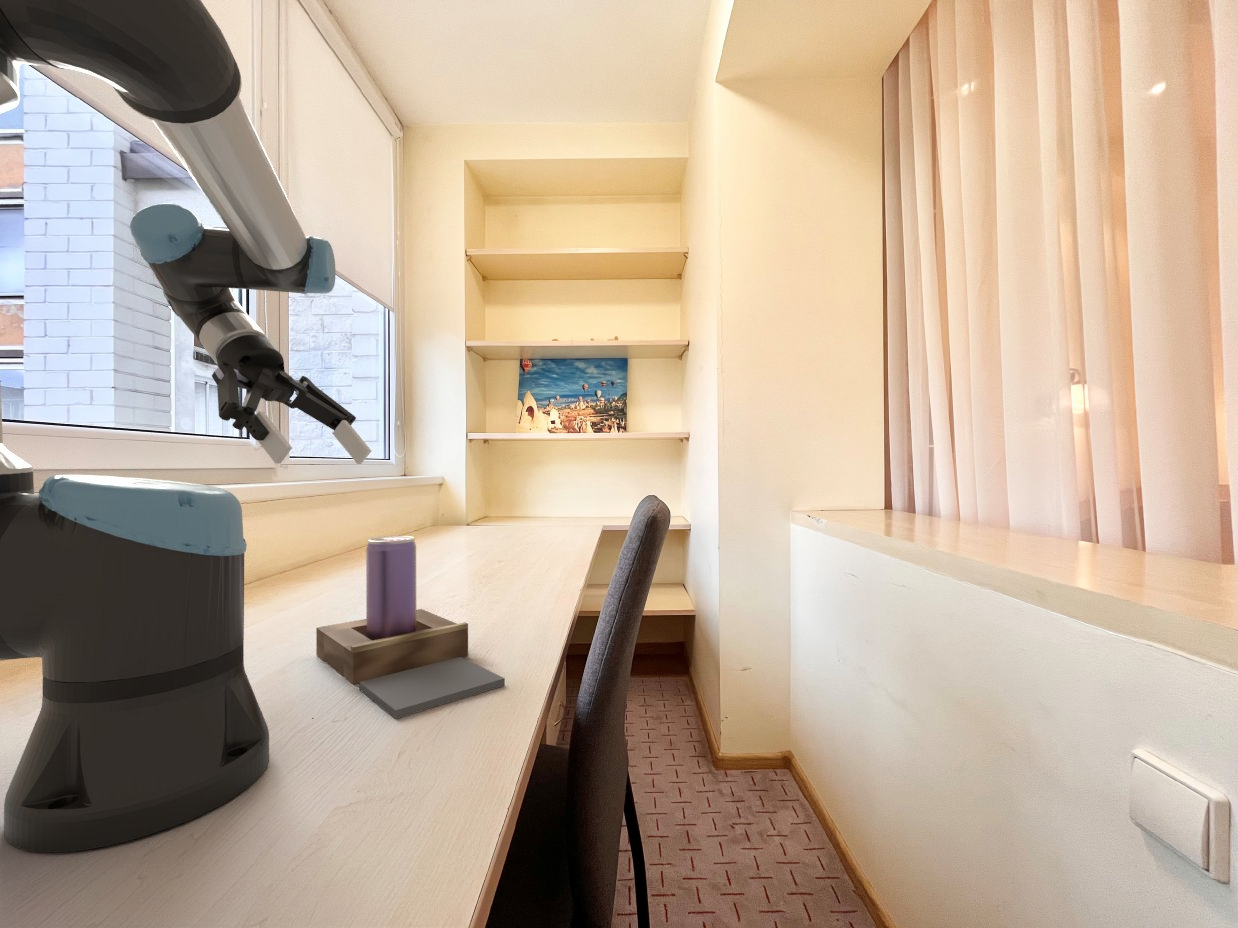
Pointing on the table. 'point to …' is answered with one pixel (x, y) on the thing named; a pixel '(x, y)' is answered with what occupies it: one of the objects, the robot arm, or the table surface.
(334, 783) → the table surface
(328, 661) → the can holder
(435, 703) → the rubber mat
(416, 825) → the table surface
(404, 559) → the beverage can
